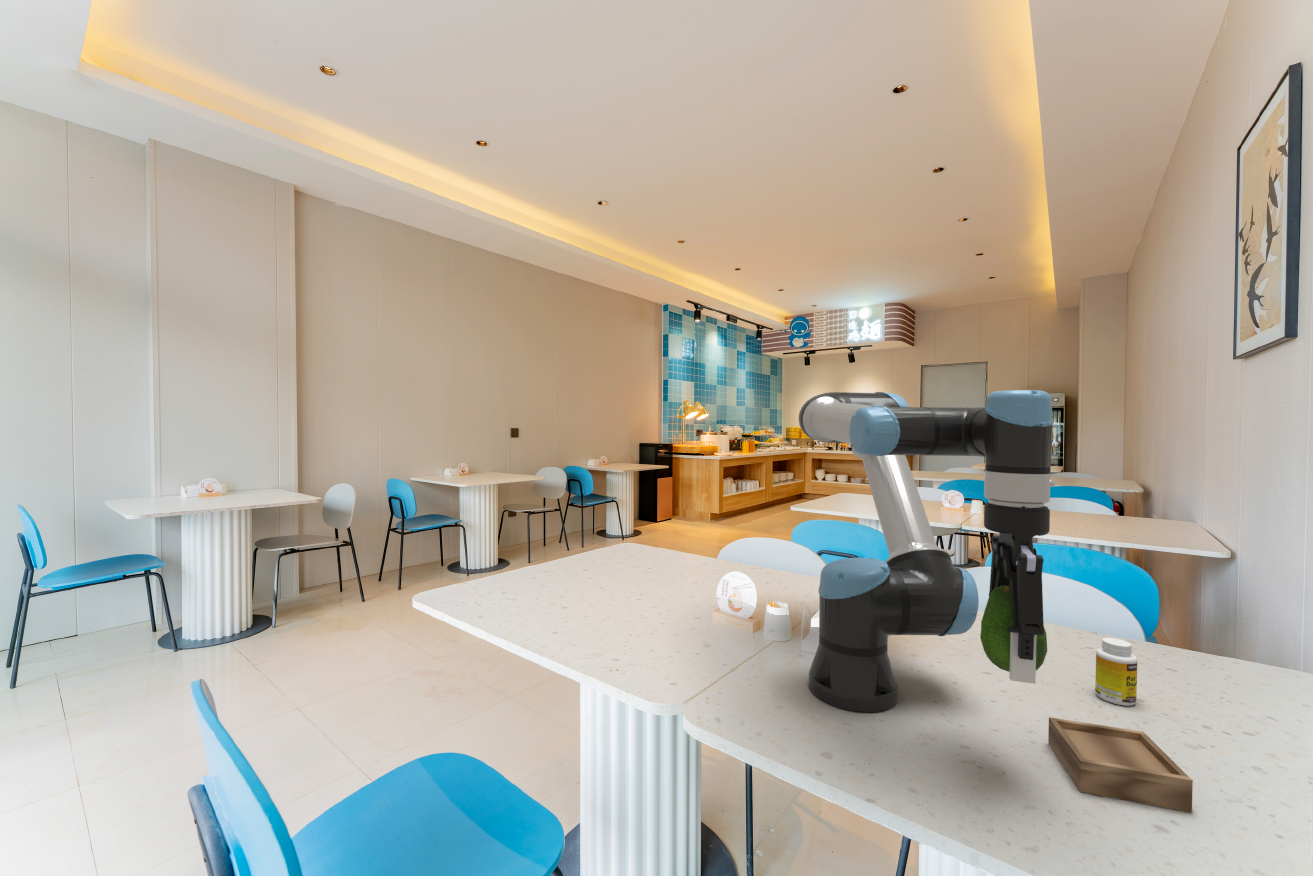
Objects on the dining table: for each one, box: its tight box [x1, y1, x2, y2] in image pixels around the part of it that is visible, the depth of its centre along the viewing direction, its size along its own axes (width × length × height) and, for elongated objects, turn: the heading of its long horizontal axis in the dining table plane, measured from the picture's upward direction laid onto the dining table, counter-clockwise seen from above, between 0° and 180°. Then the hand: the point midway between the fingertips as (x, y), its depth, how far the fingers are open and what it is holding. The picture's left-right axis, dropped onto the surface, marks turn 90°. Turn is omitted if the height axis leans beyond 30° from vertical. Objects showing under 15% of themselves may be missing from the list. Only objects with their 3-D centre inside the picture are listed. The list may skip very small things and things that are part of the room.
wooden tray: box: [1047, 716, 1194, 813], centre depth 74 cm, size 12×12×4 cm
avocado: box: [980, 585, 1048, 673], centre depth 74 cm, size 8×8×12 cm
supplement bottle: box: [1094, 637, 1138, 707], centre depth 95 cm, size 6×6×10 cm
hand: (1012, 666), depth 74 cm, fingers closed on avocado, 8 cm apart
